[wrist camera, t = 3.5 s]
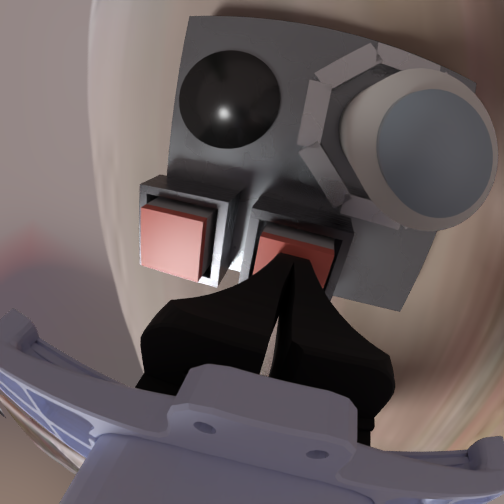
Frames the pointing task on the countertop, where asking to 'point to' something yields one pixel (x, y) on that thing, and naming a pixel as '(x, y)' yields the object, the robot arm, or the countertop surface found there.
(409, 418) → the countertop surface
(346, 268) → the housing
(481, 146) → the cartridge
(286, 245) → the plunger
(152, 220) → the plunger
